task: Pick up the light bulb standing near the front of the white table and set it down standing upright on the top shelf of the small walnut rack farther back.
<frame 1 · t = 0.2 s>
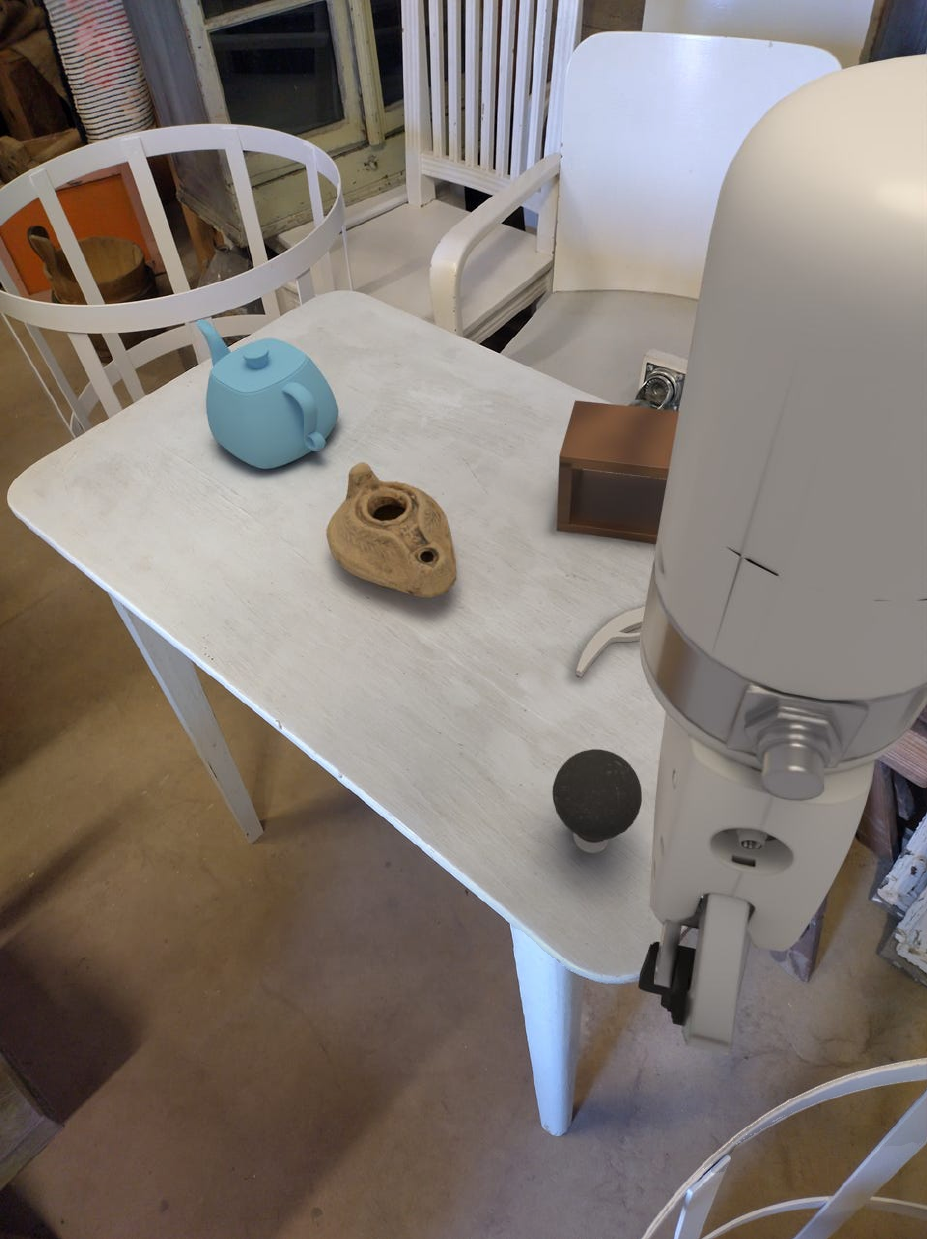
hand: (689, 874, 35), 20 cm above the table, tool pointing down, fingers open, 9 cm apart
pliers: (663, 631, 69), on the table
teapot: (273, 433, 89), on the table
oil lamp: (403, 565, 76), on the table
light bulb: (590, 842, 57), on the table
shelf: (636, 511, 78), on the table
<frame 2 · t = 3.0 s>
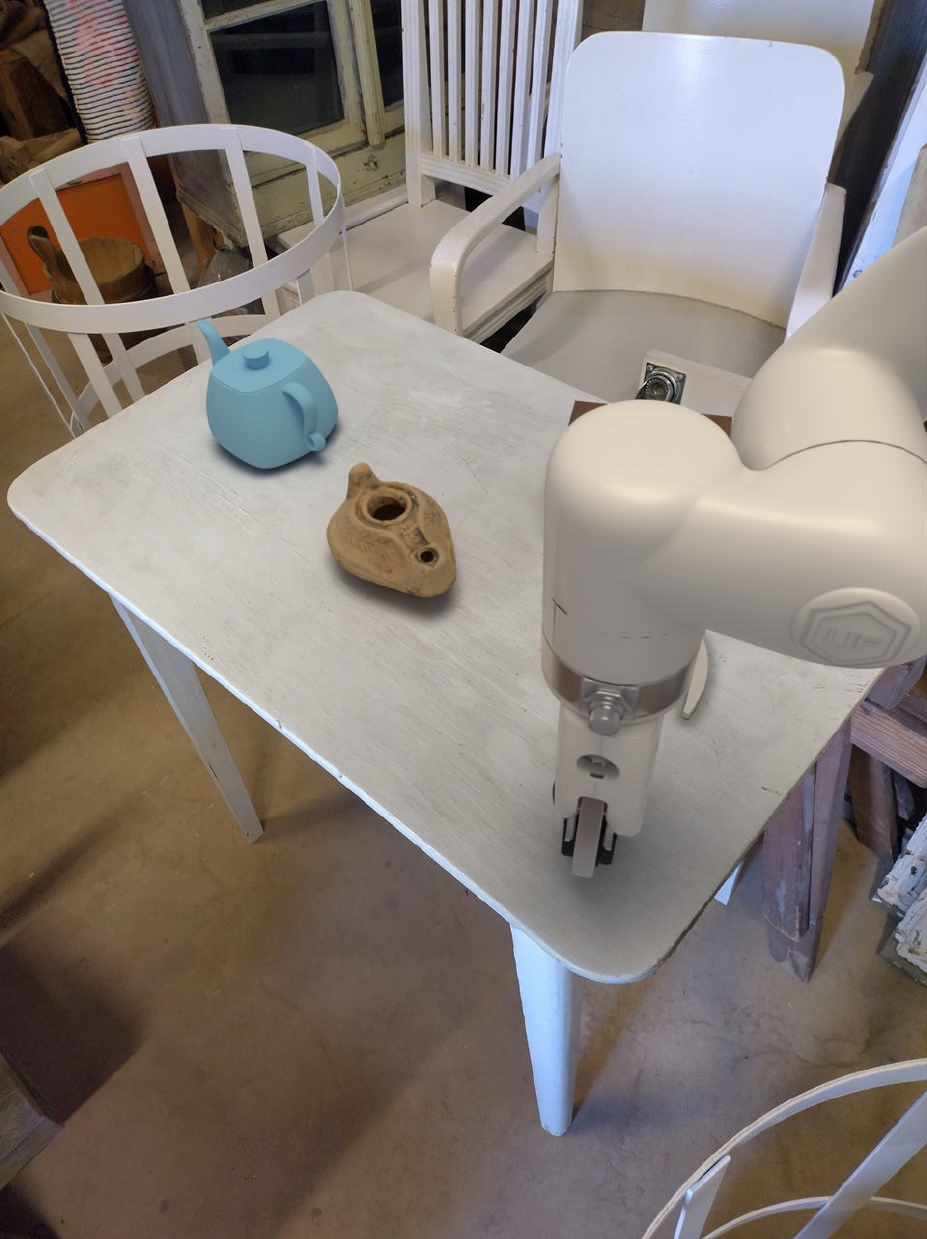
hand: (594, 809, 54), 5 cm above the table, tool pointing down, fingers closed on light bulb, 5 cm apart
light bulb: (590, 842, 57), on the table, touching gripper
everything else where it was.
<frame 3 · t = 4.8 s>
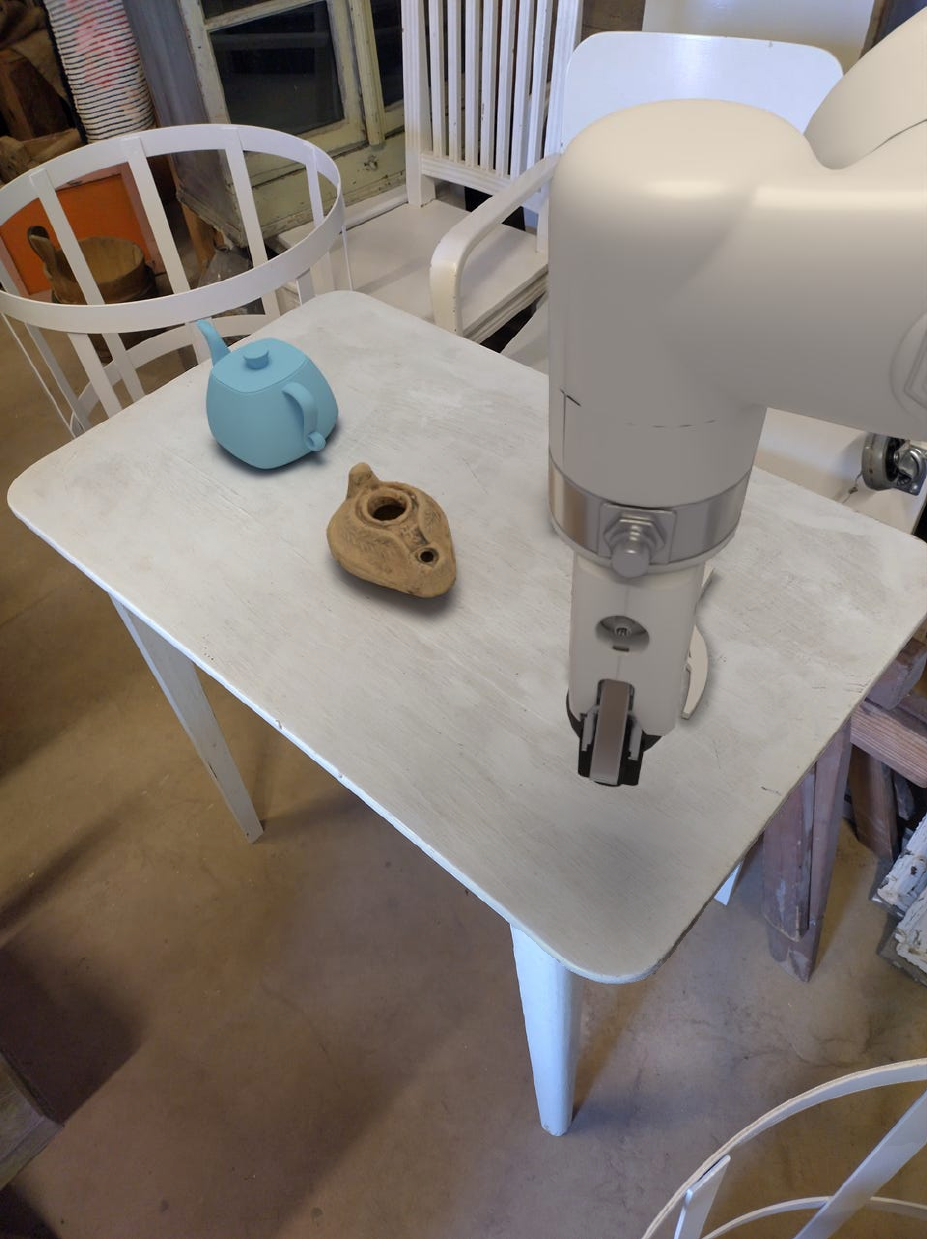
hand: (616, 724, 45), 15 cm above the table, tool pointing down, fingers closed on light bulb, 5 cm apart
light bulb: (611, 770, 49), point 10 cm above the table, touching gripper
everything else where it was.
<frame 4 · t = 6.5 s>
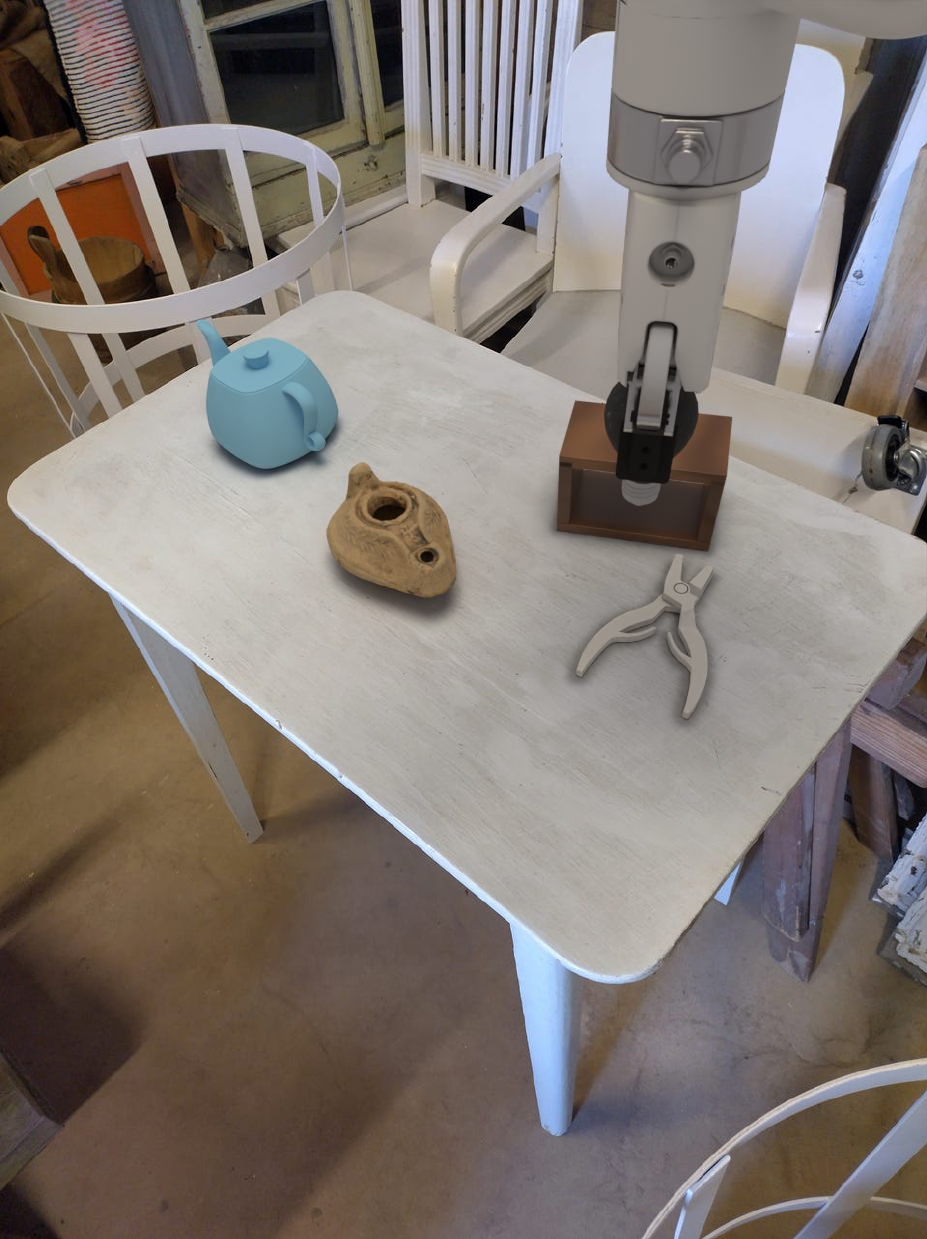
hand: (647, 443, 51), 21 cm above the table, tool pointing down, fingers closed on light bulb, 5 cm apart
light bulb: (638, 503, 55), point 16 cm above the table, touching gripper
everything else where it was.
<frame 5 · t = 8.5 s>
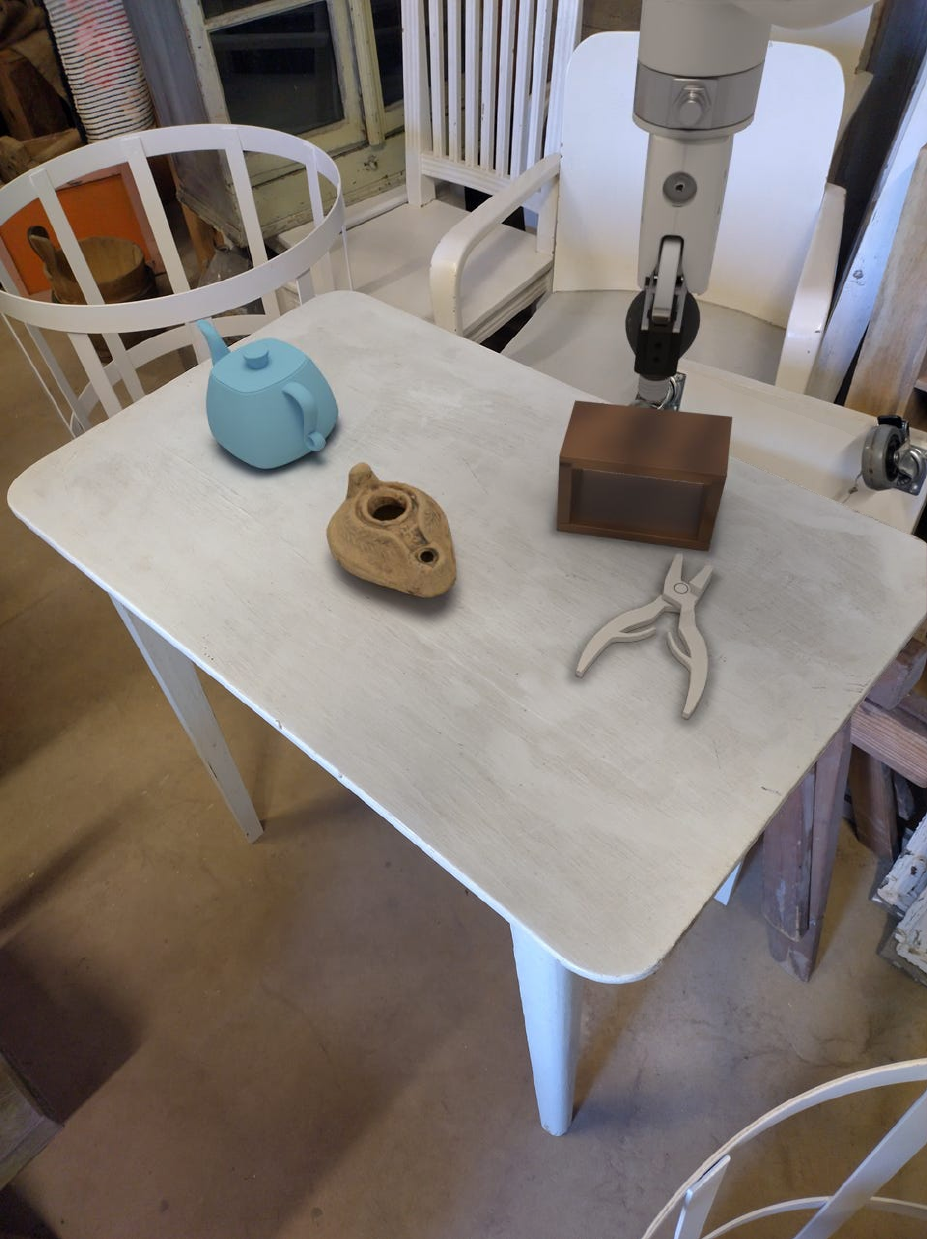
hand: (659, 347, 64), 18 cm above the table, tool pointing down, fingers closed on light bulb, 5 cm apart
light bulb: (651, 401, 68), point 13 cm above the table, touching gripper
everything else where it was.
when the fingers open (14 cm above the table, at t = 10.0 s): light bulb stays where it is, resting on shelf.
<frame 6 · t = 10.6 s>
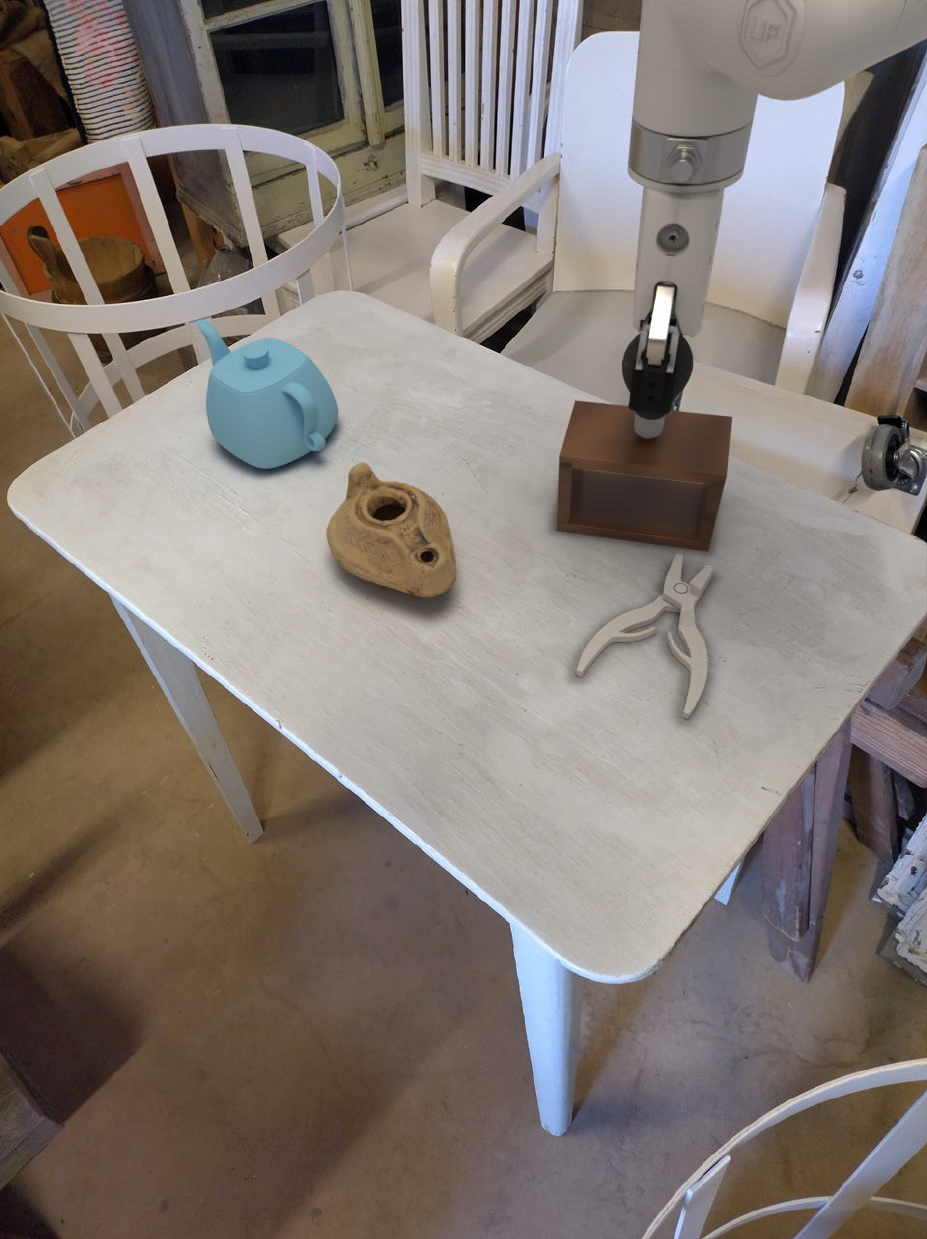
hand: (656, 373, 66), 15 cm above the table, tool pointing down, fingers open, 9 cm apart
light bulb: (647, 437, 71), point 9 cm above the table, touching shelf
everything else where it was.
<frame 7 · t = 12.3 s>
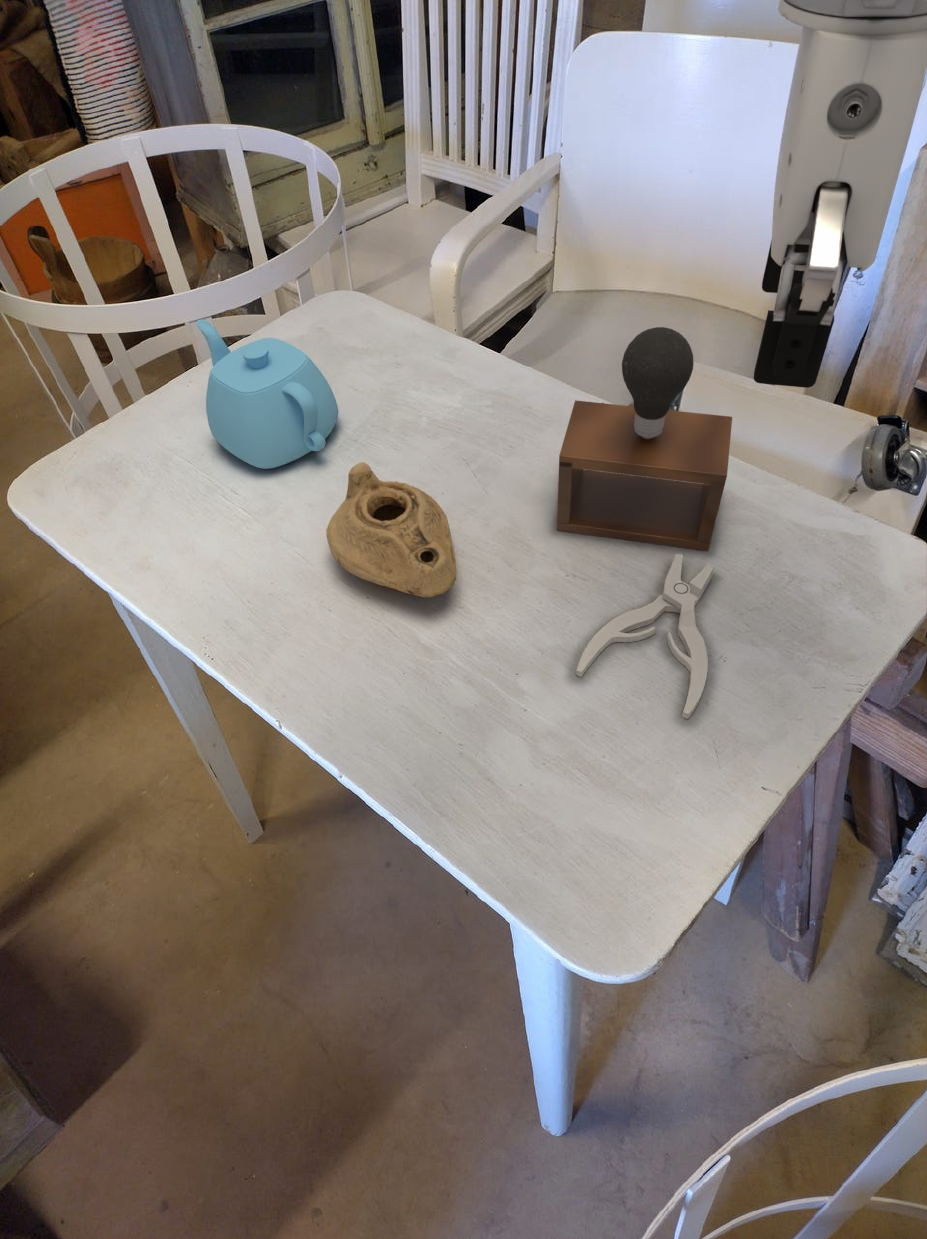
hand: (785, 334, 47), 27 cm above the table, tool pointing down, fingers open, 9 cm apart
nothing on the table moved.
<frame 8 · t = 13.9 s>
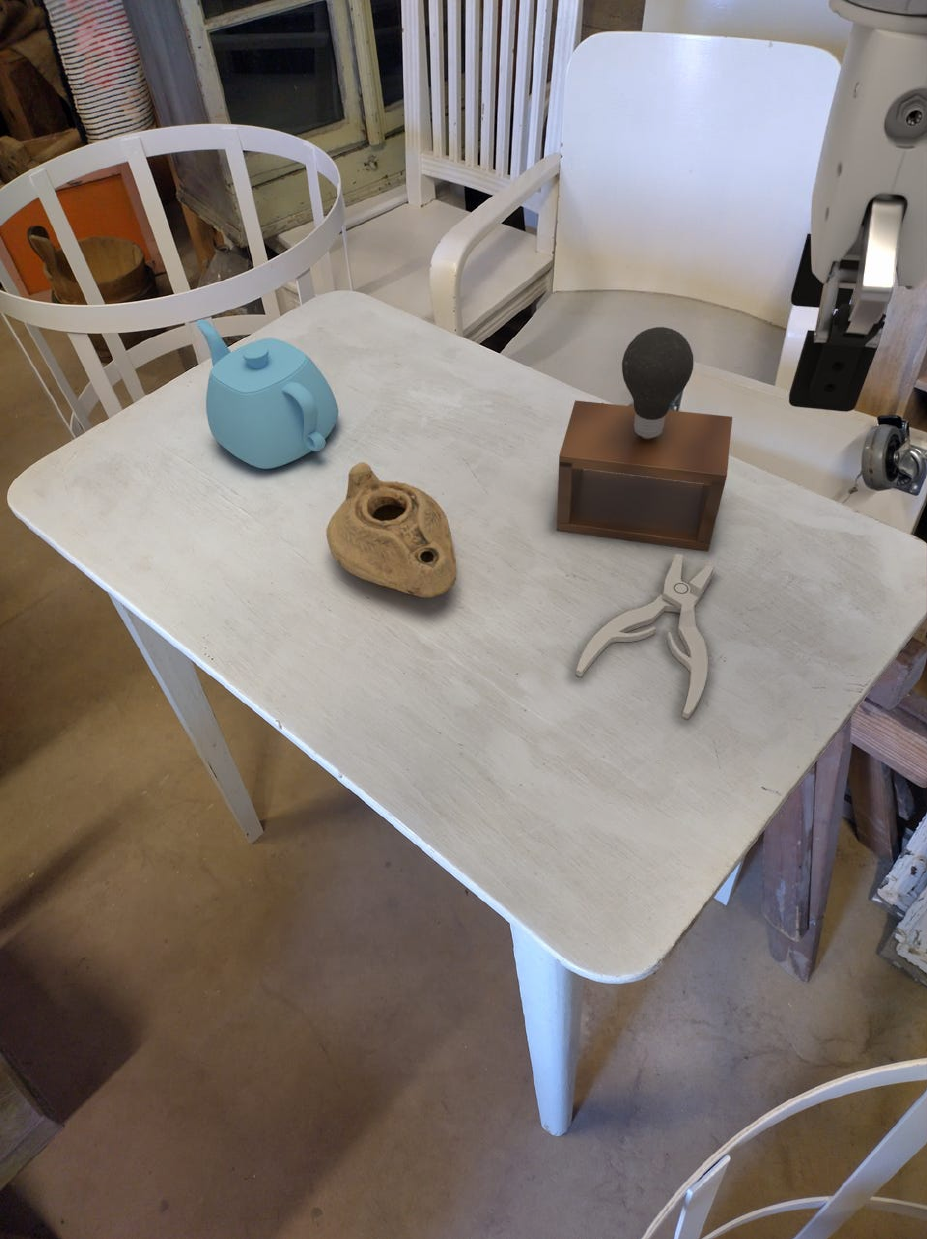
hand: (819, 352, 45), 28 cm above the table, tool pointing down, fingers open, 9 cm apart
nothing on the table moved.
at the end: light bulb inside the target area on the shelf (0.0 cm from its centre), point 8.8 cm above the shelf's base; light bulb tilted 0°; the gripper is holding nothing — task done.
